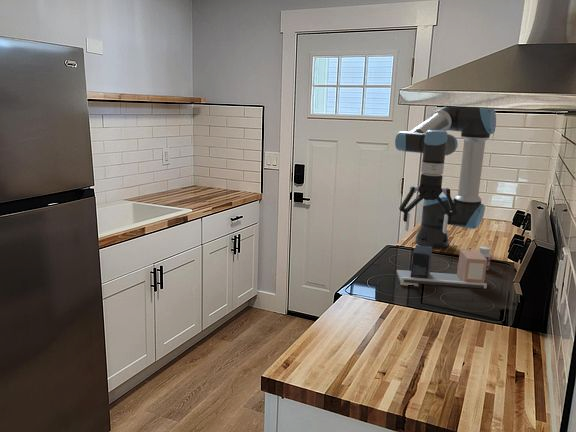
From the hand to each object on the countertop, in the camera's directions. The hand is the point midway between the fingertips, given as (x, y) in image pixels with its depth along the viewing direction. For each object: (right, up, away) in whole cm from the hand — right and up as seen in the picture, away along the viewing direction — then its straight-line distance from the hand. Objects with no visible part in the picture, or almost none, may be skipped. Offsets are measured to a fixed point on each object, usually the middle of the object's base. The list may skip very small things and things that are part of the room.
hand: (425, 231), depth 178 cm
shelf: (+6, -19, +3) cm, 20 cm away
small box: (-1, -17, +4) cm, 18 cm away
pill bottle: (+27, -17, +17) cm, 36 cm away
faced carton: (+17, -18, +1) cm, 25 cm away
